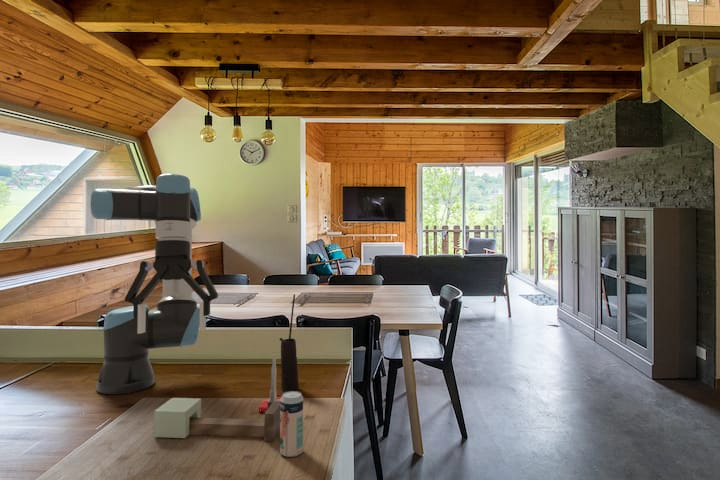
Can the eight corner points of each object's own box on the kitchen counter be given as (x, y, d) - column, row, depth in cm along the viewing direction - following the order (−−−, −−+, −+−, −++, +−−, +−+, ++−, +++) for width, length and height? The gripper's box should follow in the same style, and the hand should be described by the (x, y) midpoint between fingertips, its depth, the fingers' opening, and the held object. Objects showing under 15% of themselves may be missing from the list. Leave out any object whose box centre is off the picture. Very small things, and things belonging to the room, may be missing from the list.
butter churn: (263, 390, 125) (263, 294, 125) (286, 381, 133) (286, 290, 133) (286, 397, 120) (286, 296, 120) (308, 387, 127) (309, 293, 127)
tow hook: (268, 400, 119) (254, 413, 109) (270, 349, 119) (256, 357, 109) (300, 402, 117) (288, 415, 107) (301, 351, 118) (290, 359, 108)
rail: (153, 437, 95) (153, 410, 95) (169, 423, 102) (169, 398, 102) (273, 441, 93) (273, 414, 93) (281, 427, 100) (281, 401, 100)
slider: (154, 437, 95) (154, 411, 95) (172, 421, 103) (172, 397, 103) (185, 438, 94) (185, 412, 94) (200, 422, 102) (201, 398, 102)
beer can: (280, 447, 91) (281, 390, 91) (303, 446, 91) (304, 390, 91) (278, 459, 86) (278, 399, 86) (302, 458, 86) (303, 398, 86)
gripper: (109, 240, 96) (107, 336, 95) (224, 237, 99) (224, 331, 98) (123, 242, 104) (122, 331, 102) (230, 240, 107) (230, 327, 105)
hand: (172, 331), depth 100 cm, fingers open, 13 cm apart
